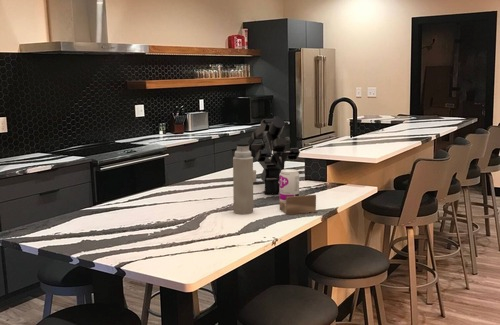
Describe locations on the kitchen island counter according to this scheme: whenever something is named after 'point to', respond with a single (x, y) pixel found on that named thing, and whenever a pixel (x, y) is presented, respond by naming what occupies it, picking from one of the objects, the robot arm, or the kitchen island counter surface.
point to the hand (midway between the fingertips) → (282, 170)
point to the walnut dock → (299, 204)
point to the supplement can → (289, 184)
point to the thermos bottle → (243, 180)
